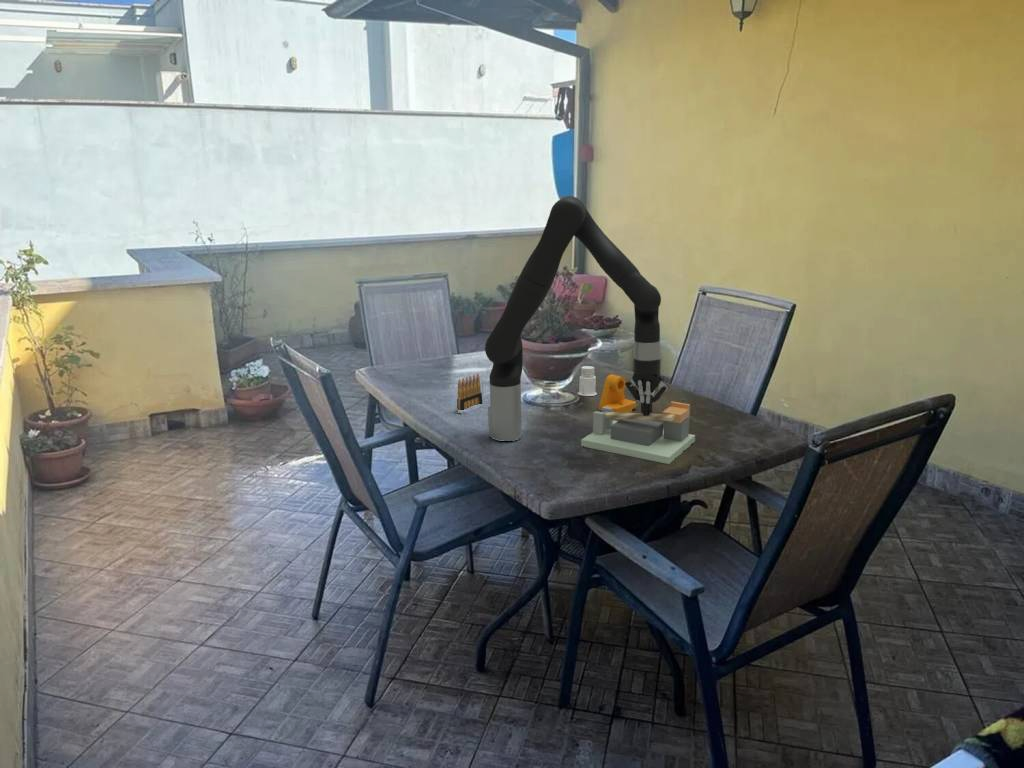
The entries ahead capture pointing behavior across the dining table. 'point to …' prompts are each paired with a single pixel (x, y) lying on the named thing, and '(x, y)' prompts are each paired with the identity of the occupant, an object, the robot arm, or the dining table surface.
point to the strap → (639, 416)
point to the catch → (678, 411)
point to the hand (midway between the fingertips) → (646, 414)
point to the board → (638, 450)
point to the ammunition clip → (469, 393)
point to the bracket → (616, 395)
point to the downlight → (587, 381)
